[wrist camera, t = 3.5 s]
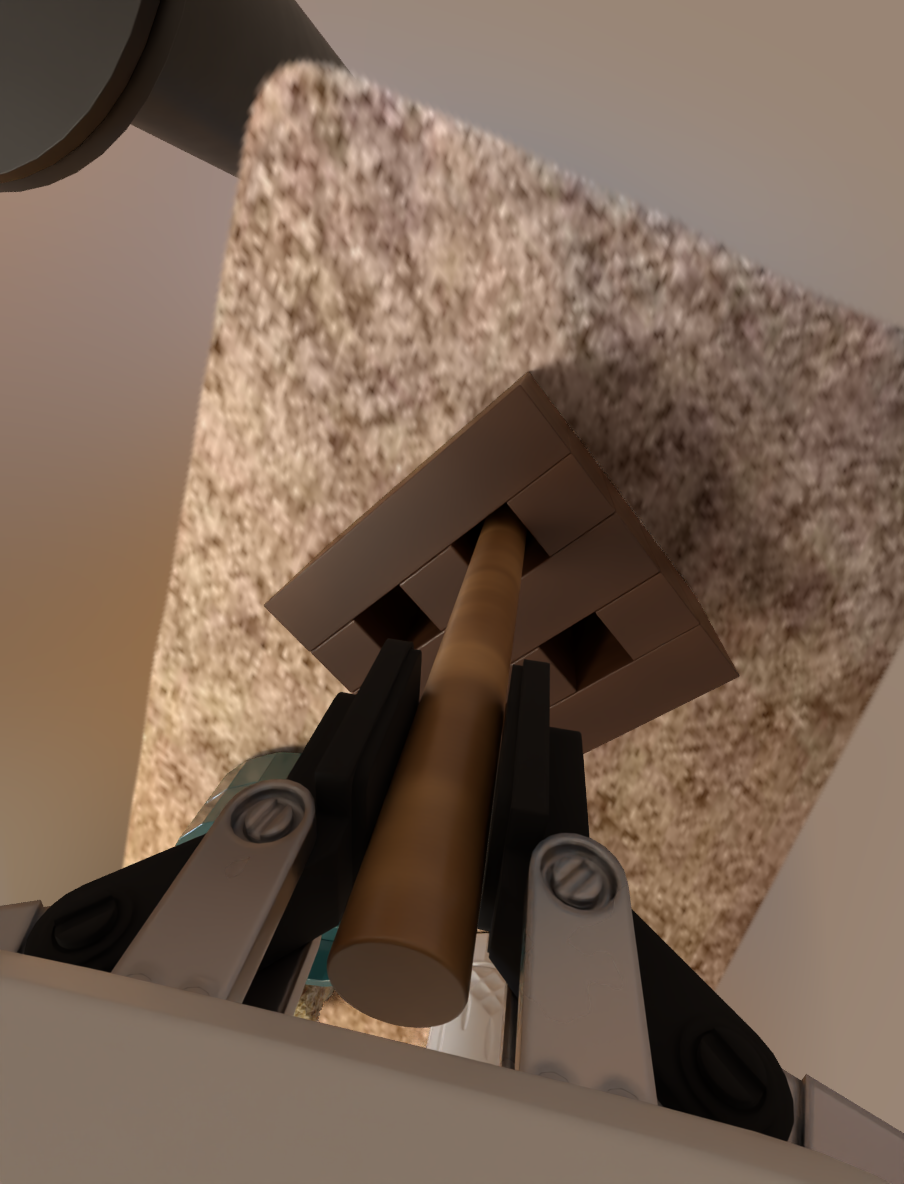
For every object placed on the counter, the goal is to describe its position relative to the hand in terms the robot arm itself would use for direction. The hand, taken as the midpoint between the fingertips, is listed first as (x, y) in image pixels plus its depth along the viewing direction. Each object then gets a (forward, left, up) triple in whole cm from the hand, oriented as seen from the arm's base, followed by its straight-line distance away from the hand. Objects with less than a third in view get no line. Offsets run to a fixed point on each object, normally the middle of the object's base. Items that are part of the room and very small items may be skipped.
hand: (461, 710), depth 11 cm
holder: (+3, -3, -17) cm, 17 cm away
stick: (0, 0, -17) cm, 17 cm away
